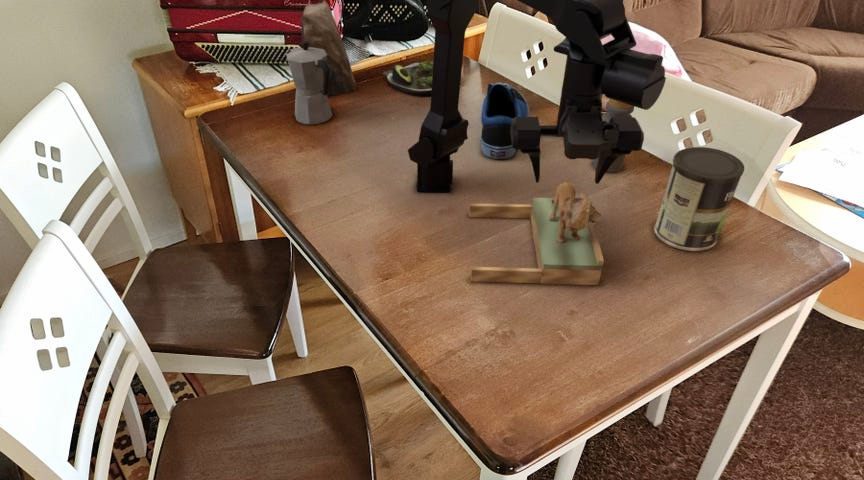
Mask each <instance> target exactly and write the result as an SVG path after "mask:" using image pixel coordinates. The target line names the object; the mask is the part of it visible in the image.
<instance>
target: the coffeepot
mask: <svg viewBox="0 0 864 480" xmlns="http://www.w3.org/2000/svg"><path fill="white" fill-rule="evenodd" d="M300 43H301V46H302V47H293V48H292V49H291V48H290V49H289V52H288V53H286V54H285V56H286V60H287V63H288V66H289V70H290V74H291V78H292V80H293V84H294V86H295V96H294V97H295V99H294V117H295V119H296V122H298V123H300V124H302V125H309V126H310V125H320V124H323V123H326V122H327V121H329V120H330V119H331V118H332V117H333V112H332V109H331V104H330V101H329V96H327V93H328V85H329V76H330V69H329V66H328V64H327V62H326V60H327V54H326V52H325V51H324V49H319V48H313V47H308V41H303V40H302V41H301V42H300Z"/></svg>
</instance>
